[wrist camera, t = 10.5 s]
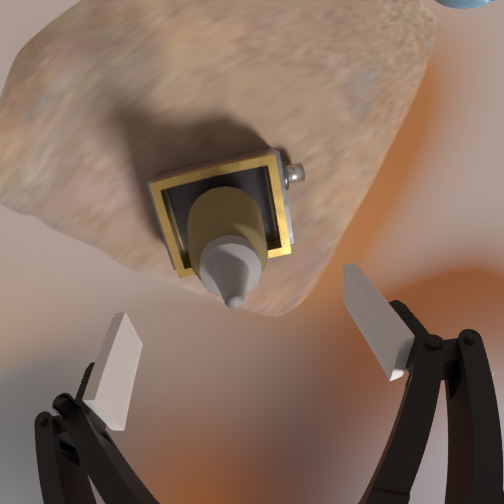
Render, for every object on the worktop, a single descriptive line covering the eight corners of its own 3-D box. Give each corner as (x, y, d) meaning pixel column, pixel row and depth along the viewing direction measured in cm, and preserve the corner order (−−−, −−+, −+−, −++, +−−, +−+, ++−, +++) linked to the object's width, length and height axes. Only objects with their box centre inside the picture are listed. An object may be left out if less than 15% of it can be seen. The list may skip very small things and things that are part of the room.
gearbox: (292, 144, 36) (310, 148, 29) (304, 225, 41) (321, 245, 34) (154, 175, 35) (141, 186, 29) (178, 253, 41) (171, 279, 34)
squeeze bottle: (206, 168, 31) (196, 218, 15) (268, 196, 33) (321, 269, 17) (180, 229, 34) (154, 327, 18) (240, 253, 36) (262, 358, 20)
